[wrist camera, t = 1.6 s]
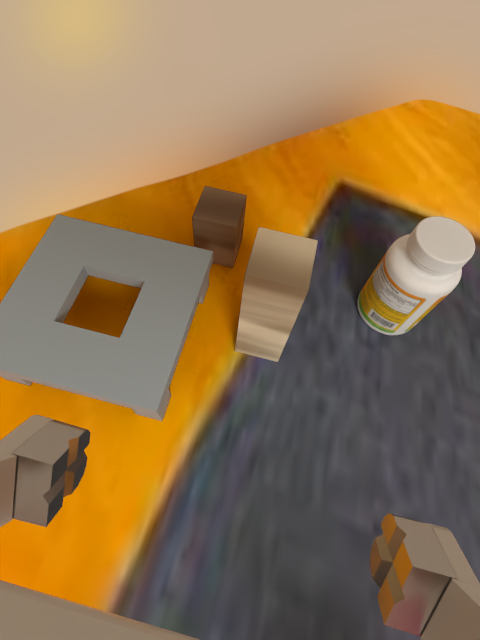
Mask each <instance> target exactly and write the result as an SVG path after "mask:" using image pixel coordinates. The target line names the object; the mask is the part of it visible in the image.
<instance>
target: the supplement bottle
mask: <svg viewBox="0 0 480 640" xmlns="http://www.w3.org/2000/svg"><path fill="white" fill-rule="evenodd" d="M474 251H475V242H474V239H473V237H472V235H471V234H470V232H469V231H468V230H467V229H466V228H465V227H464V226H462V225H461V224H460V223H458V222H456V221H454V220H452V219H449V218H445V217H437V216H435V217H429V218H426V219H424V220H422V221H421V222H420V223H419V224H418V225H417V226H416V228H415V229H414V230H413V232H412V233H411V234H408V235H405V236H402V237H401V238H399V239H397V240H396V241H395V242H394V243H393V244H392V245H391V246H390V248H389V249H388V251H387V252H386V254H385V255H384V257H383V258H382V260H381V261H380V263H379V264H378V266H377V267H376V269H375V270H374V272H373V273H372V275H371V276H370V278H369V279H368V281H367V282H366V284H365V285H364V287H363V289H362V290H361V292H360V294H359V296H358V302H357V305H358V311H359V313H360V315H361V317H362V319H363V320H364V321H365V322H366V324H368V325H369V326H370V327H371V328H372V329H374V330H376V331H378V332H380V333H383V334H387V335H399V334H403V333H405V332H407V331H409V330H410V329H412V328H413V327H414V326H415V325H416V324H417V323H418V322H419V321H420V320H421V319H422V318H423V317H424V316H425V315H427V314H428V313H429V312H430V311H431V310H432V309H433V308H434V307H435V306H436V305H437V304H438V303H439V302H441V301H442V300H443V299H444V298H445V297H446V296H447V295H448V294H449V293H450V292H451V291H452V290H453V289H454V288H455V287H456V286H457V284H458V283H459V281H460V278H461V274H462V267H463V266H464V265H465V263H466V262H467V261H468V260H469V259H470V258H471V257H472V256H473V254H474Z"/></svg>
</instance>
